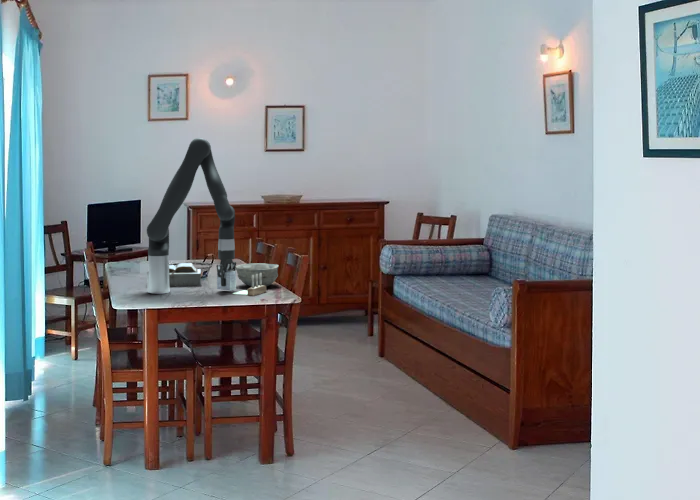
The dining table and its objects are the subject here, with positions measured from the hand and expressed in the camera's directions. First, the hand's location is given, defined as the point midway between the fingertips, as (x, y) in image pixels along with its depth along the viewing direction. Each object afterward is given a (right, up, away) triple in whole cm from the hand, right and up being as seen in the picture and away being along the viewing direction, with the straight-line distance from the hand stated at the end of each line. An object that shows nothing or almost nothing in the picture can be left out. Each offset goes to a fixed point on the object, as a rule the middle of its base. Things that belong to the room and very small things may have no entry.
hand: (226, 285), depth 416 cm
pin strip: (+15, -4, -6) cm, 16 cm away
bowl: (+13, -1, +17) cm, 21 cm away
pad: (+9, -3, -3) cm, 10 cm away
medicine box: (0, -2, 0) cm, 2 cm away
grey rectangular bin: (-28, -1, +25) cm, 38 cm away
